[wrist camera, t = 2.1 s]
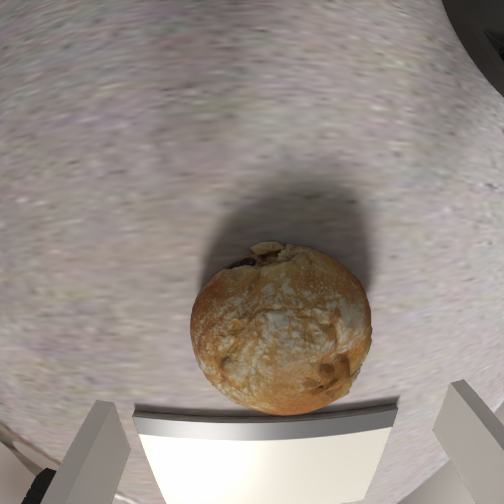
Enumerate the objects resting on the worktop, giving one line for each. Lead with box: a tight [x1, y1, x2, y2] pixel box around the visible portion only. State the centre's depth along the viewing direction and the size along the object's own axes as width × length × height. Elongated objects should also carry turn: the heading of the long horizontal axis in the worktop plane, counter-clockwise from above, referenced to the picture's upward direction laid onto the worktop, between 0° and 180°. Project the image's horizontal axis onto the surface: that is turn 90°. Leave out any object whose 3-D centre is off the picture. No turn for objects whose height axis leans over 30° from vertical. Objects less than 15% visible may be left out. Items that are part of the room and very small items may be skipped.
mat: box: [132, 404, 398, 504], centre depth 23 cm, size 20×14×1 cm
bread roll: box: [190, 241, 372, 416], centre depth 17 cm, size 10×10×8 cm
